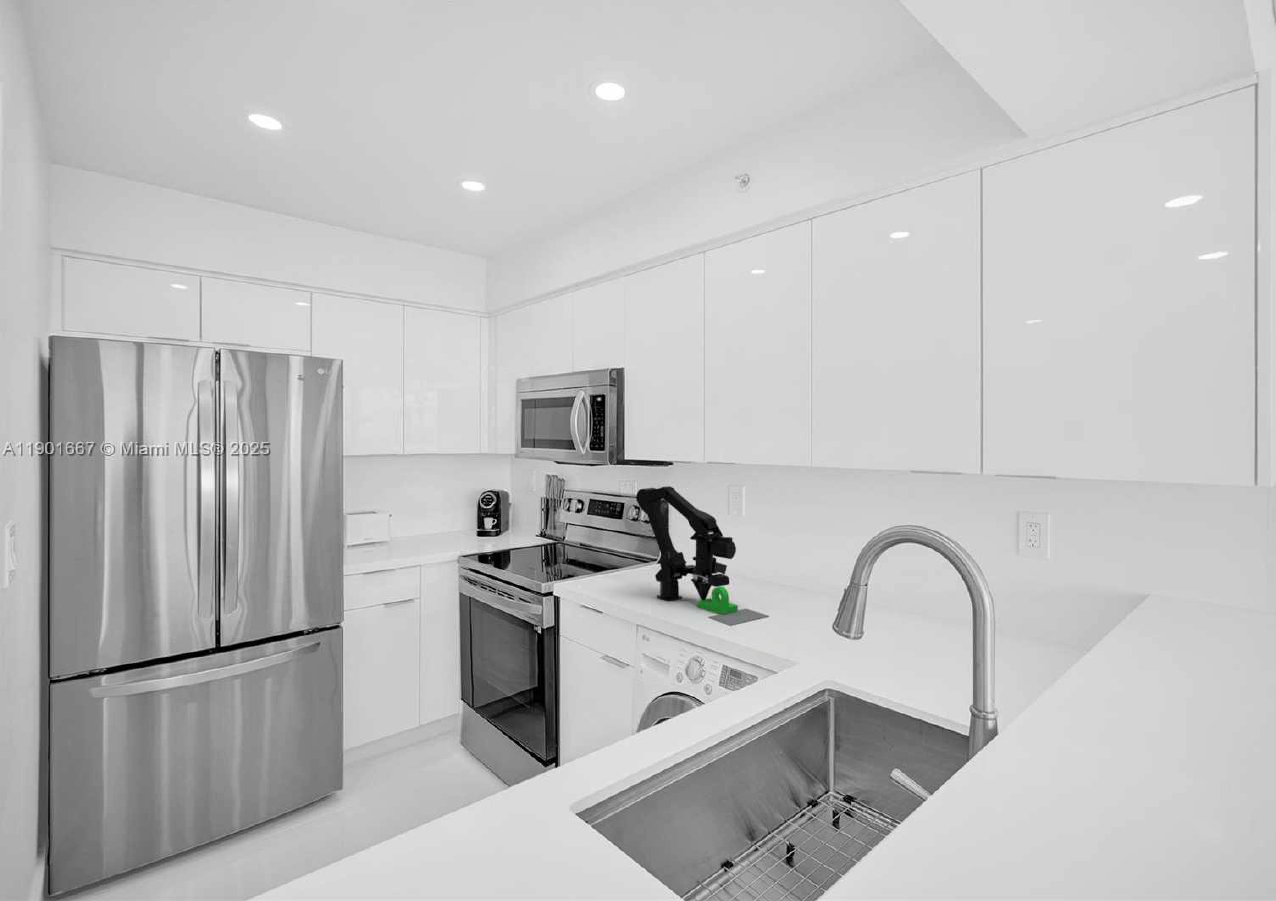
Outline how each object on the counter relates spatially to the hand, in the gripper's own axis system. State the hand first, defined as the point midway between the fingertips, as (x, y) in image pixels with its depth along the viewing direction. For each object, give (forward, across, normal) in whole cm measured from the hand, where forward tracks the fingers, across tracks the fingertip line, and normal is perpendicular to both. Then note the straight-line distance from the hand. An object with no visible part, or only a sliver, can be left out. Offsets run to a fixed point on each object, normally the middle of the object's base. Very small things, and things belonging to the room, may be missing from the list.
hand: (703, 601), depth 204 cm
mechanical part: (+1, -7, 0) cm, 7 cm away
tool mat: (+1, -17, 0) cm, 17 cm away
